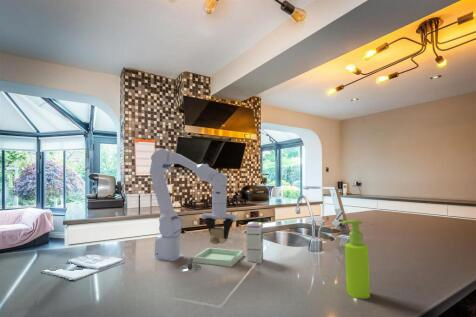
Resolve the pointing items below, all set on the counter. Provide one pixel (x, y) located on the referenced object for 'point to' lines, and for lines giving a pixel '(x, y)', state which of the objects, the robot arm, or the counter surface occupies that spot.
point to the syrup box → (254, 242)
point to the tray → (218, 257)
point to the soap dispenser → (356, 263)
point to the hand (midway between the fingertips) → (219, 238)
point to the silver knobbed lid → (189, 267)
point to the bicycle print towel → (87, 266)
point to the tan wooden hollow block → (217, 235)
